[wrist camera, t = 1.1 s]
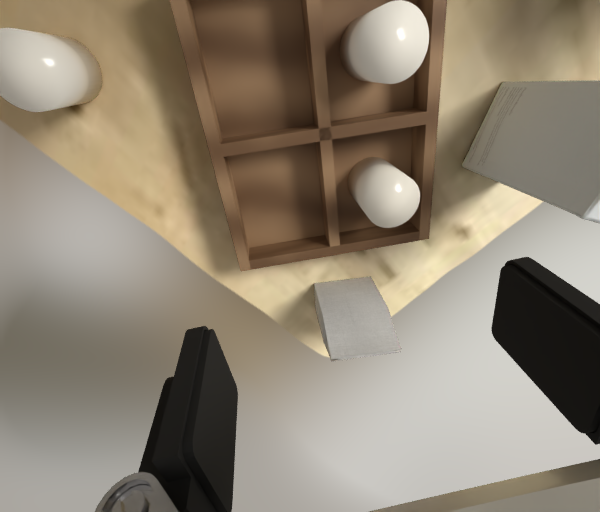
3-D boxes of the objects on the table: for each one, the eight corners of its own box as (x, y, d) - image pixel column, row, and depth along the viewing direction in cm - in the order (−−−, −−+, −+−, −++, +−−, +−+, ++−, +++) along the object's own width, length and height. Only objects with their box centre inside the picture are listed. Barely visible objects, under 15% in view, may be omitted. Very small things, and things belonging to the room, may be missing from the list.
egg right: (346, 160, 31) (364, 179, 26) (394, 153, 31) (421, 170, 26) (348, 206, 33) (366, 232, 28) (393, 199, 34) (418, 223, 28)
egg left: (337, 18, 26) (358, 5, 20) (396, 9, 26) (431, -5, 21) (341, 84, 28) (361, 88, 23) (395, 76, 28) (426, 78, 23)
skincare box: (504, 179, 35) (650, 244, 22) (456, 165, 33) (581, 225, 21) (553, 93, 31) (763, 112, 18) (501, 73, 30) (688, 78, 17)
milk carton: (314, 283, 39) (330, 345, 30) (370, 276, 39) (403, 335, 30) (315, 307, 40) (331, 373, 32) (369, 301, 41) (399, 363, 32)
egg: (24, 40, 25) (-38, 33, 19) (86, 31, 25) (42, 22, 20) (55, 107, 27) (7, 117, 22) (112, 98, 27) (78, 106, 22)
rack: (173, -20, 24) (161, -32, 21) (428, -56, 25) (452, -72, 22) (242, 253, 36) (240, 271, 32) (414, 224, 36) (428, 238, 33)
